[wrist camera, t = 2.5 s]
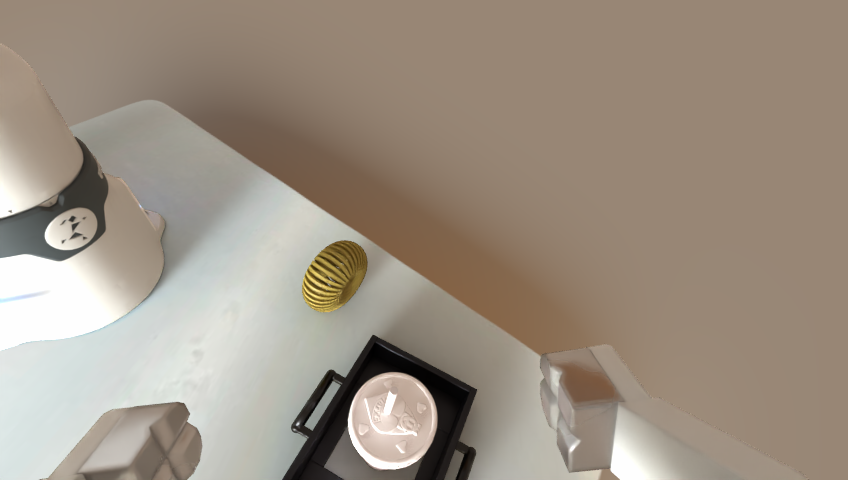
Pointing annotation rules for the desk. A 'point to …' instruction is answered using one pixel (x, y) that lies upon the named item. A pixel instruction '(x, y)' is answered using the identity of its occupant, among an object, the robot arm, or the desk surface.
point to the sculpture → (334, 276)
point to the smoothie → (392, 421)
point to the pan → (375, 359)
